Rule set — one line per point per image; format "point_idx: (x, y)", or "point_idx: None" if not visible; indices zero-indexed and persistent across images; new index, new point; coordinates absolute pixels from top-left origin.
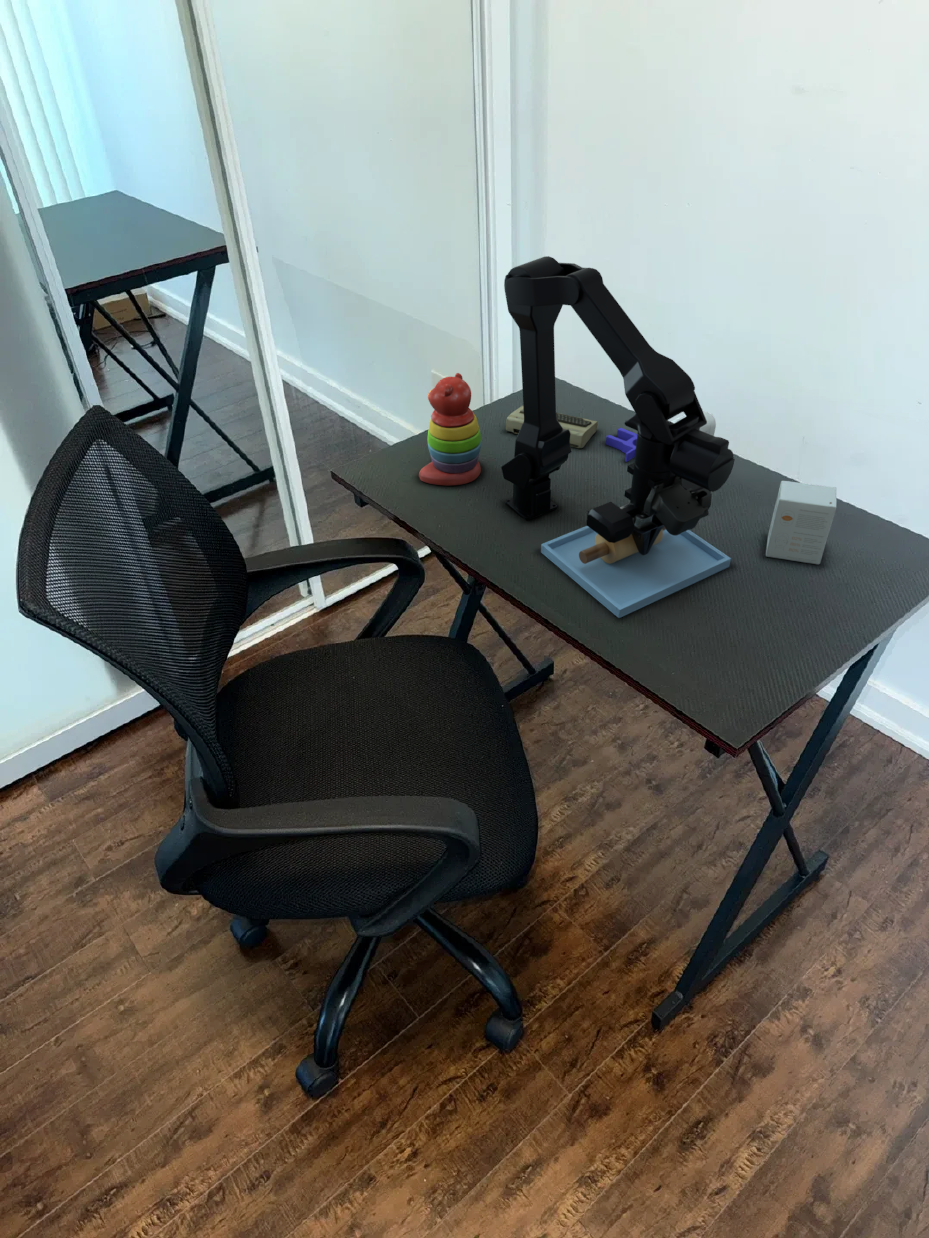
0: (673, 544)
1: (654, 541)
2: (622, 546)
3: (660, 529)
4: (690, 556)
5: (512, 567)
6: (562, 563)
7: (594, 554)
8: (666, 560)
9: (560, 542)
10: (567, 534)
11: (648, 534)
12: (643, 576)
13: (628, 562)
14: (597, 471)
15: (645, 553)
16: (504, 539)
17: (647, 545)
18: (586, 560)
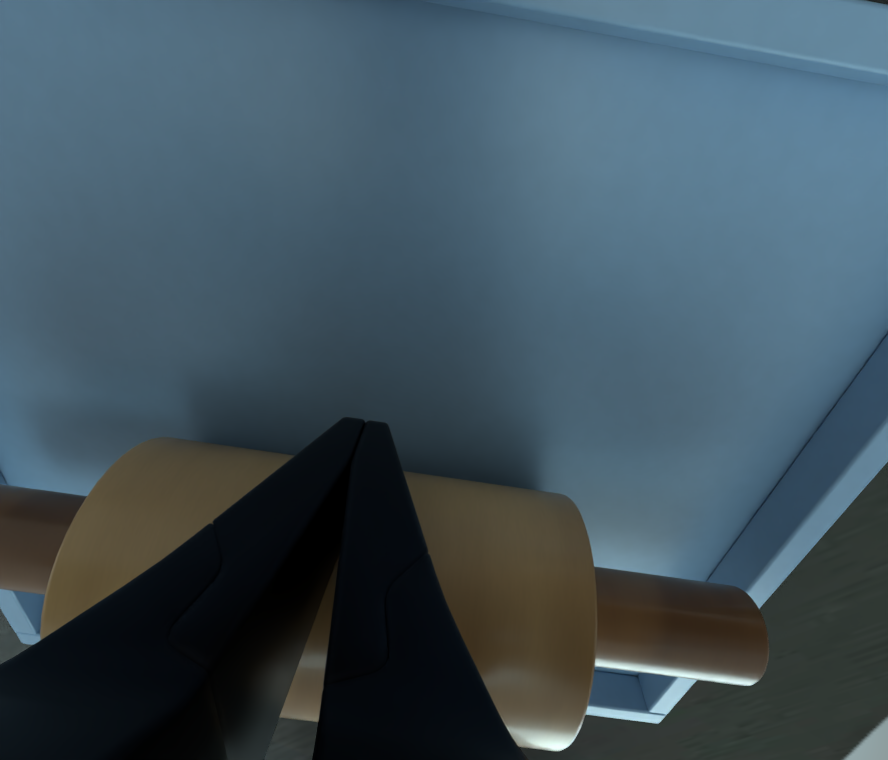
0: (66, 372)
1: (264, 482)
2: (522, 585)
3: (126, 611)
4: (10, 205)
5: (804, 684)
6: None
7: (699, 625)
8: (213, 298)
9: None
10: None
11: (368, 645)
12: (485, 291)
13: (438, 438)
14: None
15: (370, 427)
16: (652, 751)
17: (360, 485)
18: (759, 612)
